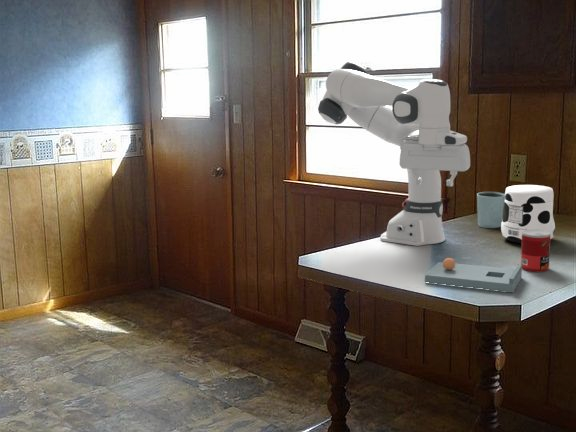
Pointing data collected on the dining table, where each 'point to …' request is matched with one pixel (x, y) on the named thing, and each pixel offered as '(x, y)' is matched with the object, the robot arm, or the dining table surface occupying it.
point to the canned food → (535, 250)
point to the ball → (448, 263)
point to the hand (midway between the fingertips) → (433, 185)
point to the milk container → (527, 211)
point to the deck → (476, 276)
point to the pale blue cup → (490, 209)
